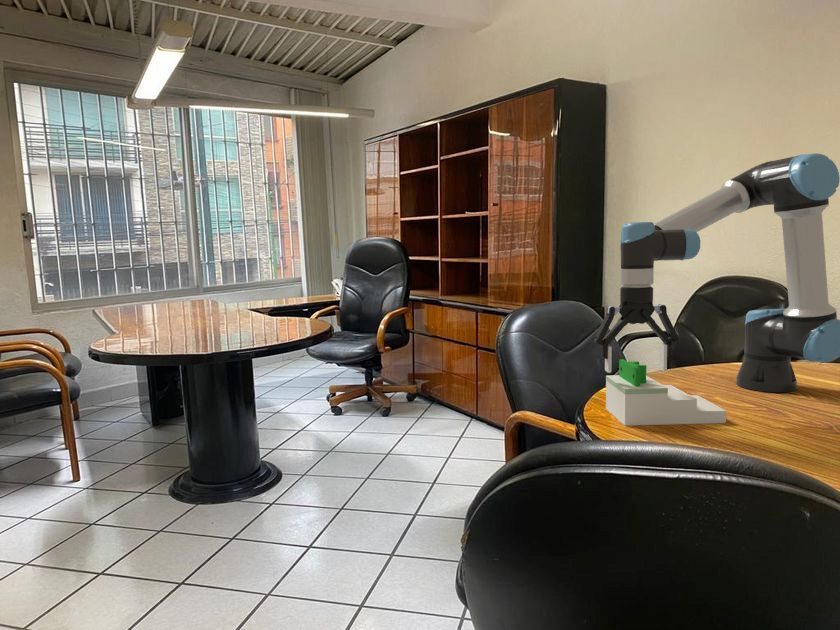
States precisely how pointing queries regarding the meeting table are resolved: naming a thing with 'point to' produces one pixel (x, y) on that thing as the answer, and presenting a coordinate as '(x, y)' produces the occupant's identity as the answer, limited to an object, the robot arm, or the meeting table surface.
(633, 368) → the pipe clamp
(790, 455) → the meeting table surface
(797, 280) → the robot arm
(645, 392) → the stepped riser
